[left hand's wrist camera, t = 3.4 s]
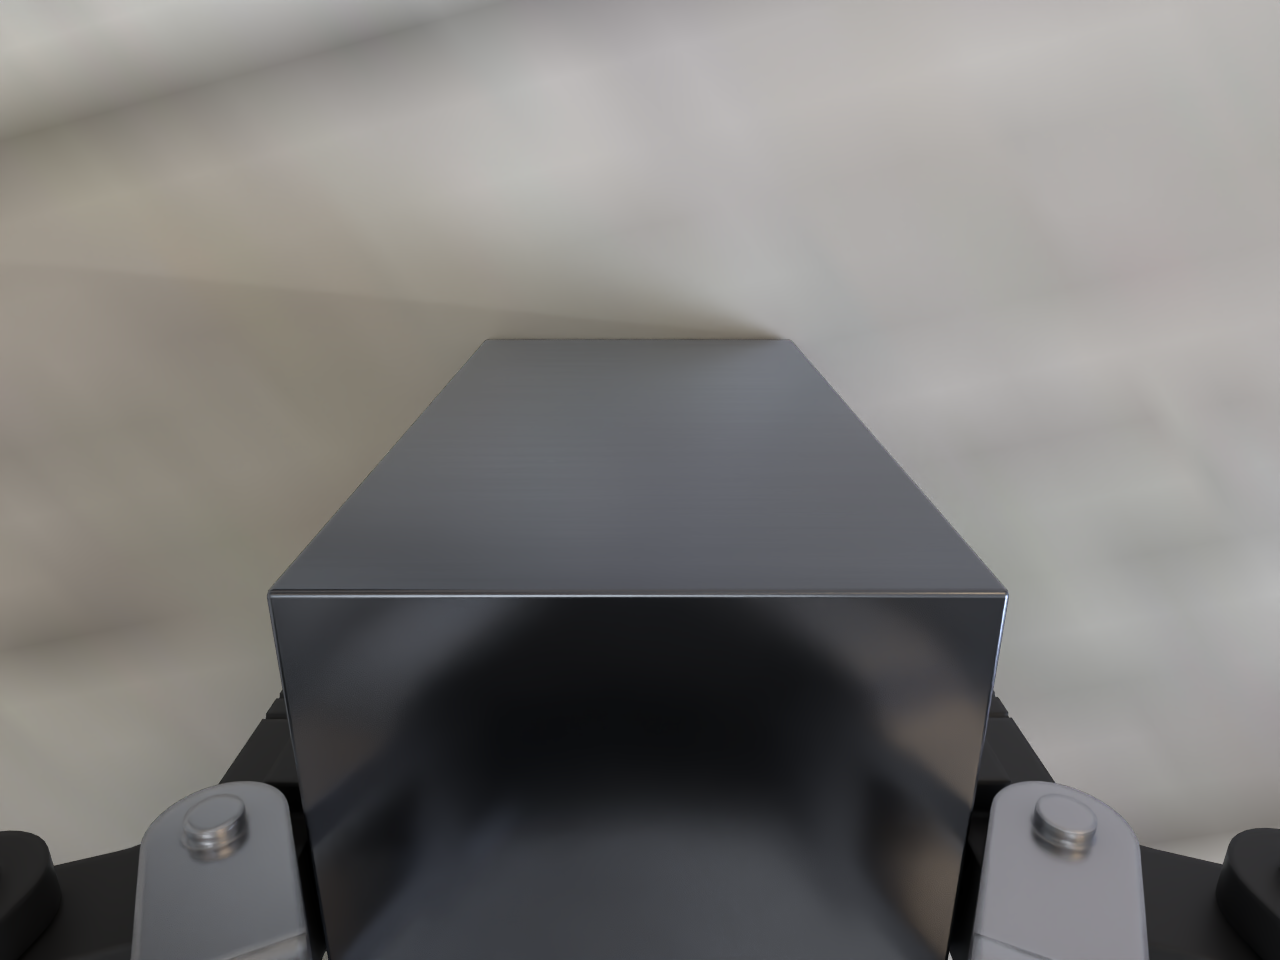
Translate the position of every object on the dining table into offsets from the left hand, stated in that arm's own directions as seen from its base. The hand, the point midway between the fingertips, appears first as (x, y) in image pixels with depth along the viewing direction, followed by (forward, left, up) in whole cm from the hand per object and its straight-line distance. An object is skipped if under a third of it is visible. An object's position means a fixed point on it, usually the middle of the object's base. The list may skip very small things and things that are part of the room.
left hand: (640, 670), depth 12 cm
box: (-2, +6, -6) cm, 9 cm away
